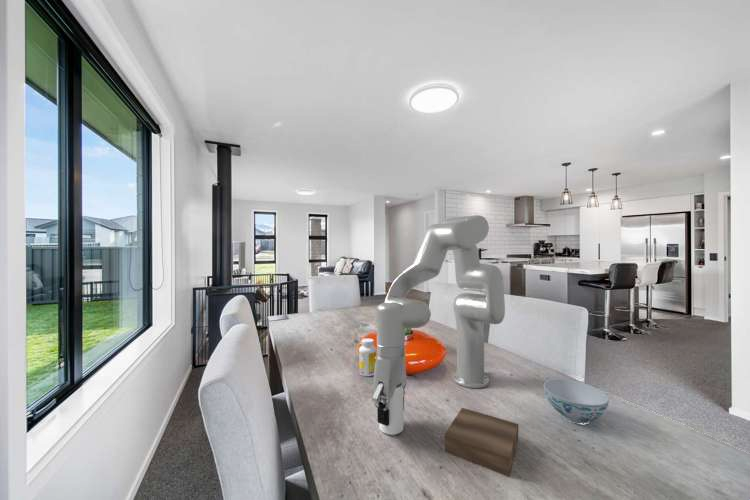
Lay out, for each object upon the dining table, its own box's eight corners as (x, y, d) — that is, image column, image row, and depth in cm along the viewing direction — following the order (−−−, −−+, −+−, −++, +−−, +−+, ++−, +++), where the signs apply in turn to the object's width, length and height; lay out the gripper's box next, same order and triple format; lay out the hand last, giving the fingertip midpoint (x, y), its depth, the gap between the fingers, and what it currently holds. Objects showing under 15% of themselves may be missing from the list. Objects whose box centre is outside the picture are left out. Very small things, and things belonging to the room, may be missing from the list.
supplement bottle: (378, 370, 114) (377, 338, 114) (374, 377, 108) (374, 343, 108) (361, 369, 115) (361, 337, 115) (357, 376, 109) (357, 342, 109)
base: (462, 422, 79) (462, 407, 79) (518, 440, 72) (518, 424, 72) (444, 451, 68) (444, 434, 68) (509, 477, 60) (509, 457, 60)
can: (402, 437, 73) (401, 390, 73) (377, 434, 74) (376, 387, 74) (404, 422, 79) (404, 379, 79) (381, 420, 81) (381, 377, 81)
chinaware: (596, 408, 86) (595, 382, 86) (620, 440, 71) (619, 409, 71) (539, 400, 91) (538, 376, 91) (550, 428, 76) (550, 399, 76)
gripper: (394, 339, 86) (395, 398, 86) (360, 357, 72) (360, 428, 72) (417, 343, 82) (418, 405, 82) (386, 363, 68) (386, 439, 68)
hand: (391, 415), depth 77 cm, fingers open, 7 cm apart
